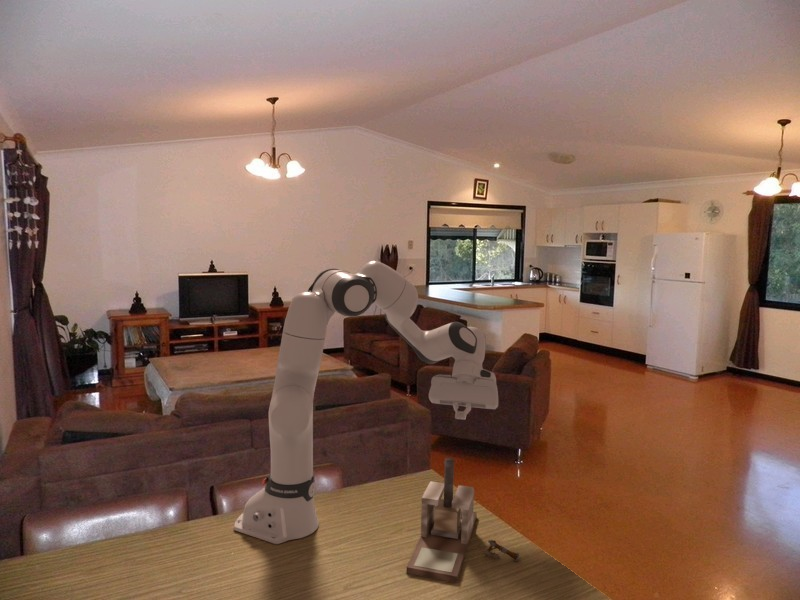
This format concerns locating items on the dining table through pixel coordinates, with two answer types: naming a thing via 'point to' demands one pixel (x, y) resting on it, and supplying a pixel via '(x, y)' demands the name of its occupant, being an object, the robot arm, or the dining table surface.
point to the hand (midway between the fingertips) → (460, 418)
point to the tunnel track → (441, 552)
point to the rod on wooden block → (447, 508)
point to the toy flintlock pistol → (502, 549)
